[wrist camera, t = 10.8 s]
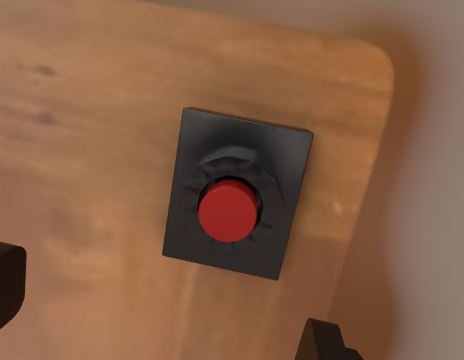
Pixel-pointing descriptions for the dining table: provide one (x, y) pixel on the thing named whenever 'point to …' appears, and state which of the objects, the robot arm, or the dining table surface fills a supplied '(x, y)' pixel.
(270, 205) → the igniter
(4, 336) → the dining table surface
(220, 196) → the button
